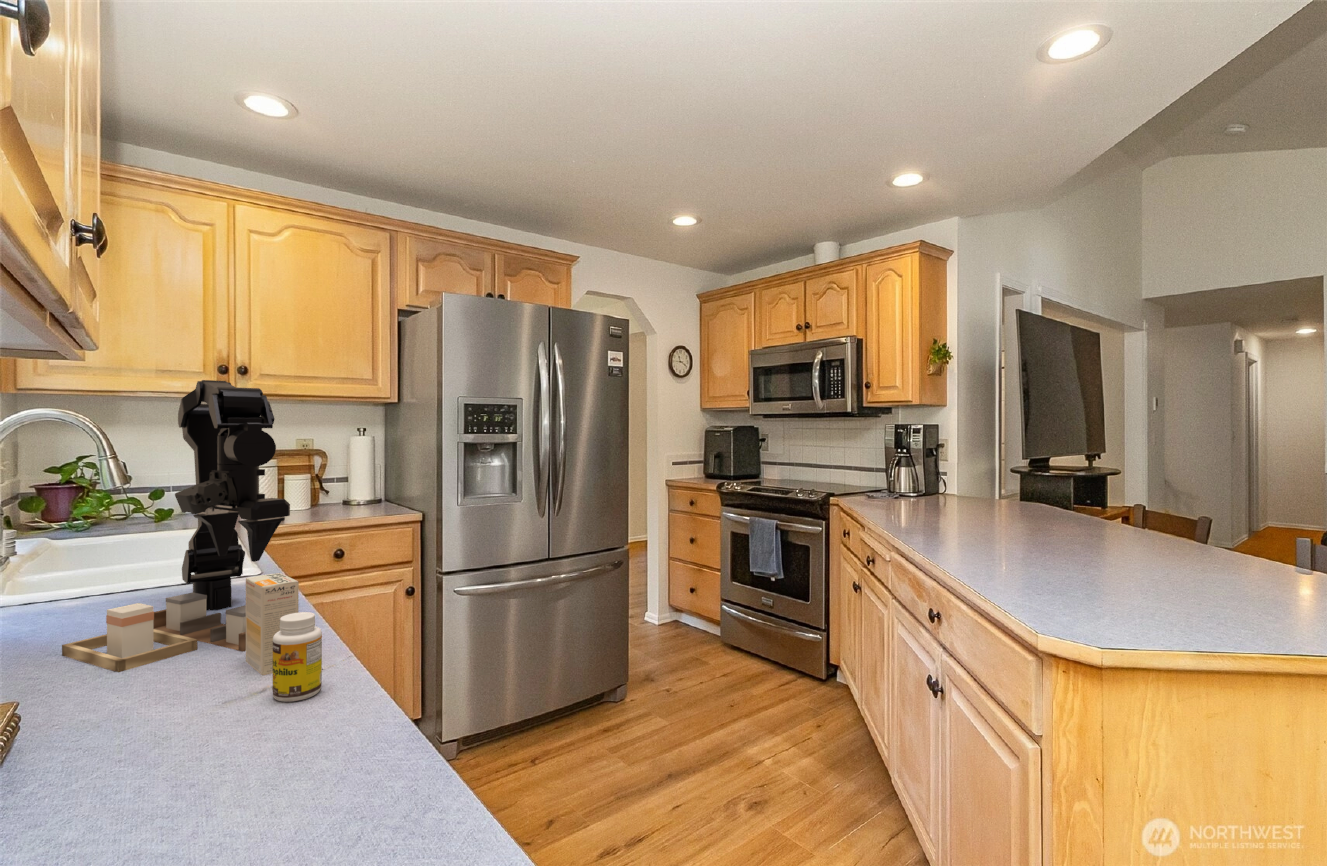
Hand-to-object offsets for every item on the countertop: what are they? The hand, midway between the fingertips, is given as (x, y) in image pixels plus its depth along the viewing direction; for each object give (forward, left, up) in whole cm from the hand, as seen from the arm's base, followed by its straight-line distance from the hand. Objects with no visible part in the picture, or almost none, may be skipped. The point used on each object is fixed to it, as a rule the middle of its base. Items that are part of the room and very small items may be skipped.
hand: (238, 558), depth 106 cm
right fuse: (+6, -2, -12) cm, 14 cm away
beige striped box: (-4, -13, -12) cm, 19 cm away
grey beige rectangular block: (-10, -2, -12) cm, 16 cm away
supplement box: (+19, -7, -13) cm, 24 cm away
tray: (-4, -13, -13) cm, 19 cm away
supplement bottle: (+30, -11, -13) cm, 35 cm away
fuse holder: (-2, -2, -13) cm, 13 cm away
